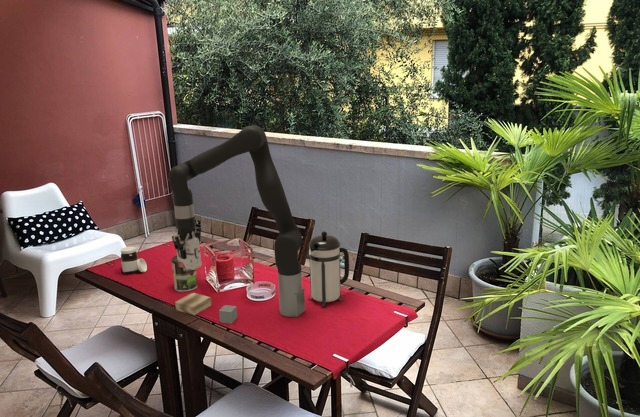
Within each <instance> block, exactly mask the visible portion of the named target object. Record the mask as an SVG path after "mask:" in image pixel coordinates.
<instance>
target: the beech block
mask: <svg viewBox="0 0 640 417" xmlns="http://www.w3.org/2000/svg"><path fill="white" fill-rule="evenodd" d="M174 303H175V310H176V311H178V312H182V313H184V314H189V315H192V316H195V315H198V314H199V313H200V312H203V311H204V310H206V309H207V308H209V307H211V306H212V297H211V296H207V295H204V294H200V293H195V292H191V293H190V294H187V295H186V296H184V297H181V298H180V299H178V300H176V301H174Z"/></svg>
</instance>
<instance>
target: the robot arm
mask: <svg viewBox="0 0 640 417" xmlns="http://www.w3.org/2000/svg"><path fill="white" fill-rule="evenodd" d="M246 153H249V154H250V157H251V160H252V163H253V166H254V172H255V173H254V175H255V183H256V188H257V191H258V195H259V197H260V200H261V202H262V204H263V206H264V208H265V209H266V210H267V211H268V213H269V214H270V215H271V217H272V218H273V220H274V222H275V224H276V226H277V230H278V234H279V235H278V236H277V238H276V239H274V248H273V249H274V250H273V251H274V260H275V266H276V269H277V280H278V299H279V300H278V302H279V303H278V305H279V313H280V315H281V316H284V317H287V318H288V317H289V318H290V317H291V318H293V317H295V318H298V317H299V316H300V315H302V314H303V313H304V312H306V300H305V298H306V297H305V289H304V288H303V278H302V276H303V275H302V264H301V262H299V252H298V251H299V250H300V249H301V248H302V246H303V236H302V234H301V232H300V229H299V228H298V226H297V223H296V222H295V219H294V217H293V215H292V214H293V213H292V211H291V209H290V204H289V202H288V199H287V195H286V194H285V193H286V192H285V189H284V187H283V184H282V182H281V179H280V176H279V173H278V171H277V167H276V166H275V163H274V161H273V157H272V155H271V151H270V147H269V142H268V138H267V135H266V132H265V130H264V129H263V127H261V126H258V125H249V126H245V127H243V128H242V129H241V130H240V131H239V132H237V133H236V134H235V135H233V136H232V137H231V138H229V139H228V140H226V141H224V142H222V143H220V144H218V145H216V146H214V147H212V148H211V147H210V148H209V149H207V150H205V151H203V152H202V153H199V154H197V155H195V156H194V157H192V158H191V159H188V160H187V161H184V162H182V163H179V164H178V165H175V166H173V167H172V168H170V170H169V173H168V182H169V185H170V189H171V192H172V195H173V203H174V208H173V209H174V220H175V227H176V229H177V234H176V235H172V236H171V239H172V243H173V246H174V249H175V250H176V251H177V250H180V257H181V258H182V259H186V250H185V248H186V241H188V239H191V238H198V239H199V244H200V242H201V237H202V236H201V233H202V229H201V227H196V226H197V223H196V214H195V213H196V212H195V208H194V200H193V193H192V190H191V189H189V186H188V181H190V180H192V179H194V178H195V177H197V176H199V175H203V174H205V173H206V172H209V171H211V170H213V169H215V168H216V167H218V166H220V165H222V164H224V163H225V162H226V161H229V160H230V159H232V158H234V157H237V156H239V155H244V154H246ZM181 240H182V241H184V242H181ZM182 244H183V247H182Z"/></svg>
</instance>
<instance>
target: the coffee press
mask: <svg viewBox="0 0 640 417" xmlns="http://www.w3.org/2000/svg"><path fill="white" fill-rule="evenodd" d="M308 248H309V250H308V255H309V283H310V294H309V295H308V298H307V300H309V301H312V300H314V301H317V302H319V303H321V304H322V305H321V306H322V308H326V307H327V303H331V302H334V301H336V300H339V301H340V302H343V301H344V299H345V298H344V296H343V295H342V290H341V288H342V284H344V283H346V282H347V280H348V279H349V276H350V254H349V251H348V250H347V249H346V248H345V247H341V242H340V241H339V239H338V238H337V237H335V236H332V235H328V232H326V231H322V232H321V234H320V235H317V236H315V237H313V238H311V239H310V241H309V243H308ZM341 253H343V257H344V258H343V260H344V272H343V273H344V275H343V277H342V278H341ZM310 296H311V298H310ZM340 297H341V298H342V299H341V298H340Z"/></svg>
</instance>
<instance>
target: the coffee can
mask: <svg viewBox="0 0 640 417" xmlns="http://www.w3.org/2000/svg"><path fill="white" fill-rule="evenodd" d="M170 261H171V268H172V276H173V285H174V290H175V291H176V292H181V293H183V292H185V293H187V292H190V291H193V290H196V289H197V288H198V287H199V285H198V278H197V275H198V274H197V269H195V270H192V269H187V268H182V267H179V266H178V259H177V255H175V256H173V257H172V258H171V259H170Z"/></svg>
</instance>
